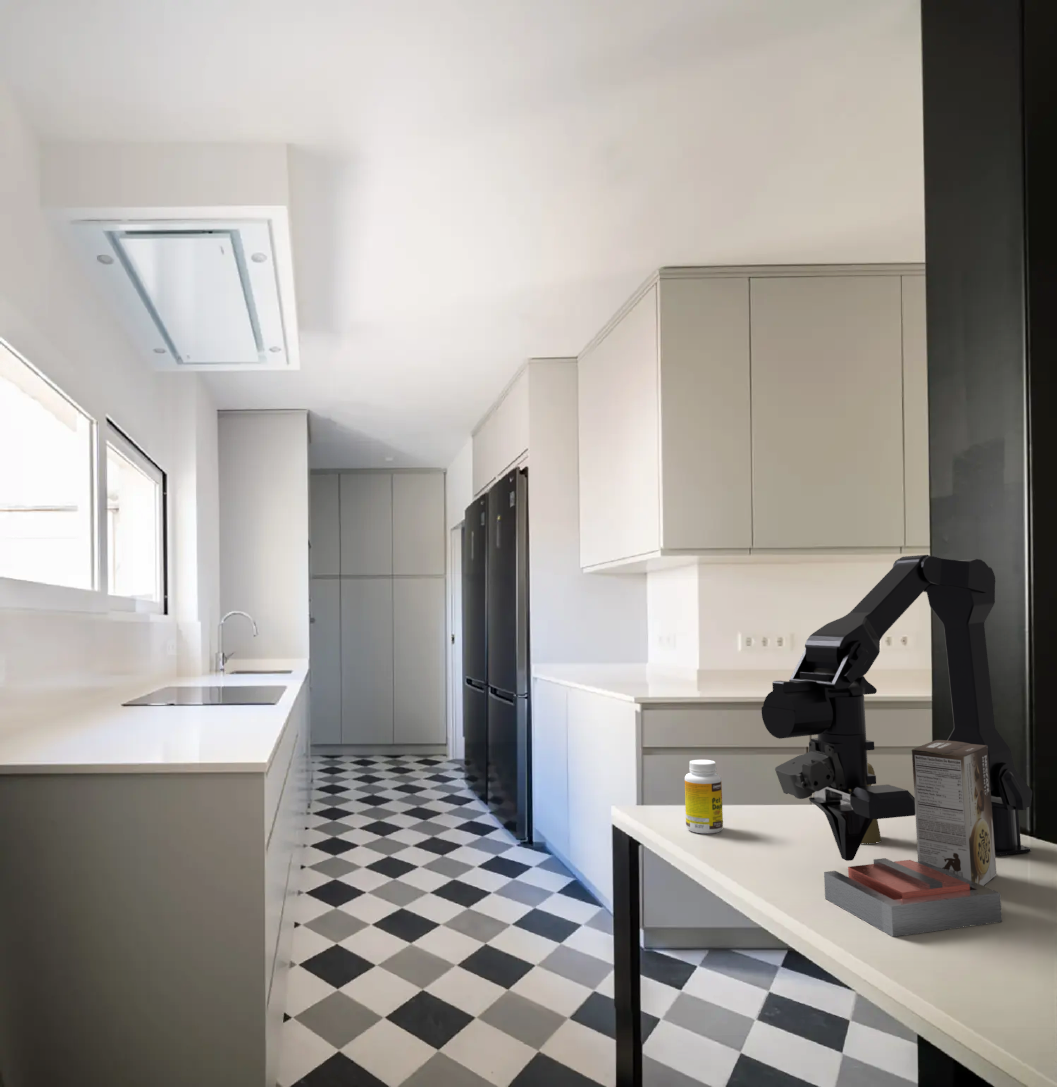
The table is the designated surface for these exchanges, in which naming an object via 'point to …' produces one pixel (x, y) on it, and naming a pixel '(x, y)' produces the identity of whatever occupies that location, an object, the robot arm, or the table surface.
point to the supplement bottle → (703, 798)
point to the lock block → (905, 879)
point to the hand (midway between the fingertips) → (847, 859)
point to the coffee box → (954, 809)
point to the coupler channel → (915, 906)
